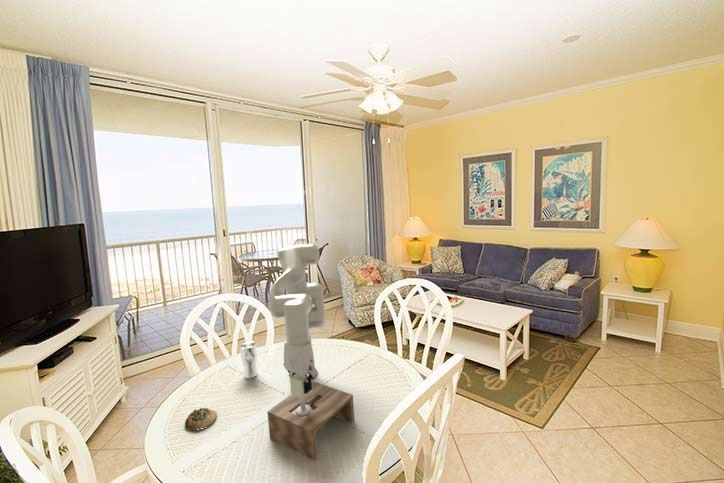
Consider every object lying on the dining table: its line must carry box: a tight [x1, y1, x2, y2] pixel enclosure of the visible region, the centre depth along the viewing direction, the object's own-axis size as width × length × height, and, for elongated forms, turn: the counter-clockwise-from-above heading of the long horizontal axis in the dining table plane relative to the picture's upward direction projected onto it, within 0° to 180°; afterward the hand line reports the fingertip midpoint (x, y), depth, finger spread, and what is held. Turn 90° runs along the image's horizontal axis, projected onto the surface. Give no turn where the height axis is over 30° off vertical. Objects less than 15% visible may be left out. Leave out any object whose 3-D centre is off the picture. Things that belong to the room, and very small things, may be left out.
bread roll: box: [184, 407, 218, 431], centre depth 128 cm, size 11×11×5 cm
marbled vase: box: [240, 341, 259, 379], centre depth 159 cm, size 7×7×15 cm
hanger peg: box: [289, 374, 313, 418], centre depth 115 cm, size 5×5×13 cm
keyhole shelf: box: [266, 380, 355, 462], centre depth 120 cm, size 20×22×10 cm
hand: (301, 388), depth 115 cm, fingers closed on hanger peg, 5 cm apart
